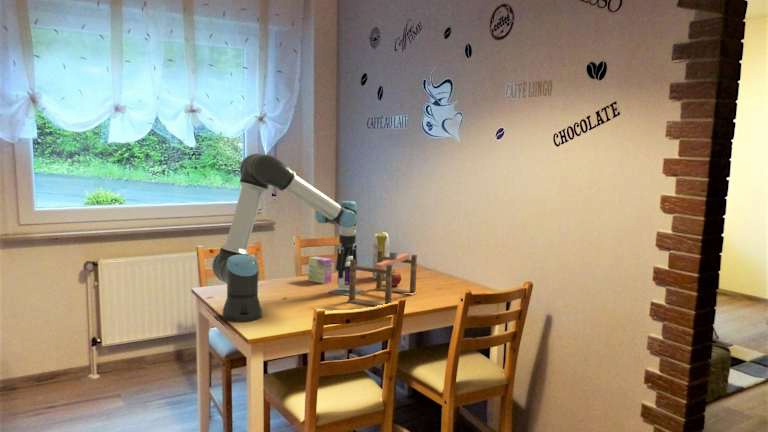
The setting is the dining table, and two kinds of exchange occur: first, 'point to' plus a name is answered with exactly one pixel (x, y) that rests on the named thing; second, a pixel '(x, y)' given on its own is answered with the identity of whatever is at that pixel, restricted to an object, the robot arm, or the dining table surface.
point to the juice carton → (380, 244)
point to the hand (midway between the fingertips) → (346, 282)
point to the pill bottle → (346, 273)
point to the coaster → (344, 291)
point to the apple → (395, 278)
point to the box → (320, 269)
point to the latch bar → (392, 260)
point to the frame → (388, 272)
